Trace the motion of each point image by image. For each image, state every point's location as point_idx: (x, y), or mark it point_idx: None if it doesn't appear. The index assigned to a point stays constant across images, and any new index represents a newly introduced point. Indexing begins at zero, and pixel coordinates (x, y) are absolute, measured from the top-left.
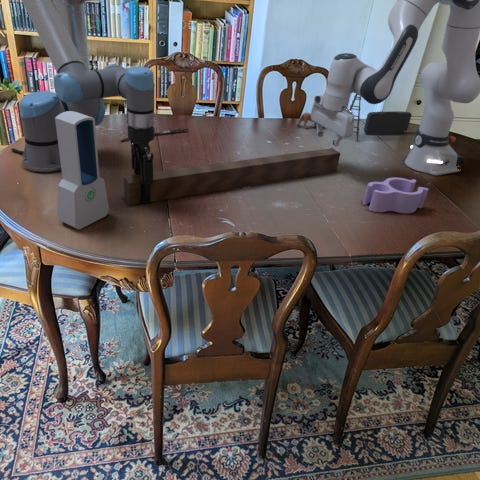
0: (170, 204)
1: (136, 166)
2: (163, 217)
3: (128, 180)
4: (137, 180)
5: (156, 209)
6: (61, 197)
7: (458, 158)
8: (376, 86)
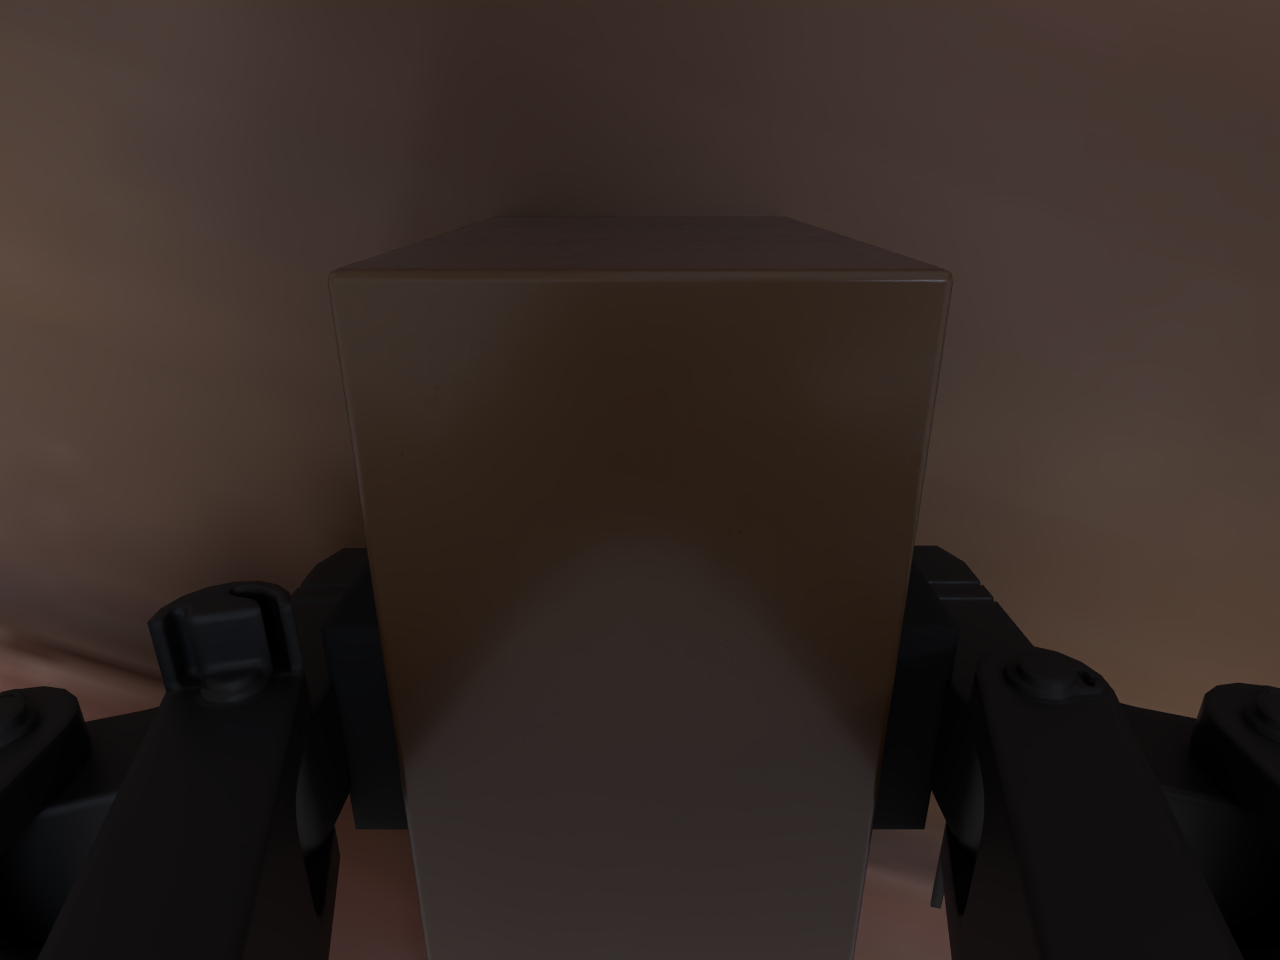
0: None
1: (1016, 936)
2: (23, 578)
3: (544, 329)
4: (476, 596)
5: (274, 567)
6: None
7: None
8: None
